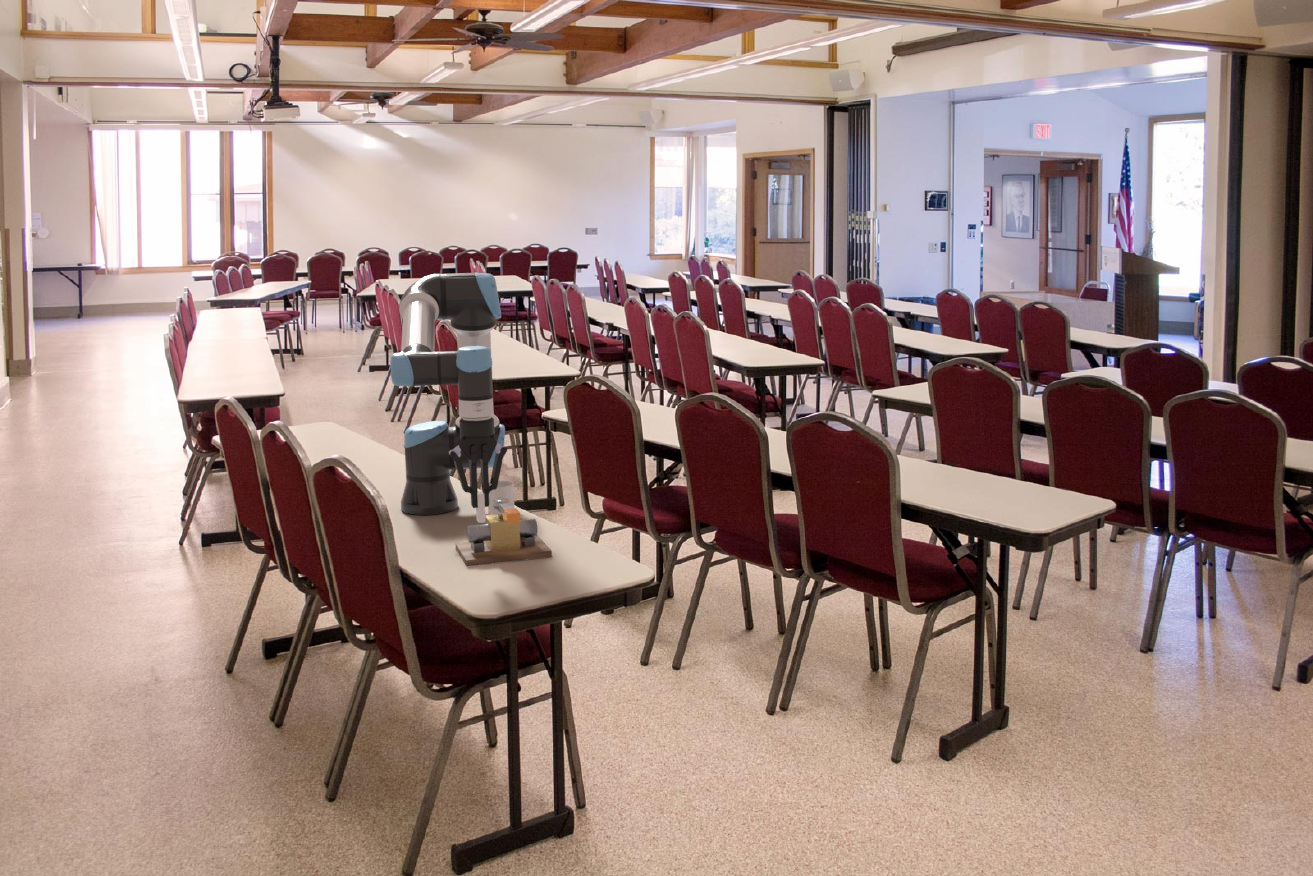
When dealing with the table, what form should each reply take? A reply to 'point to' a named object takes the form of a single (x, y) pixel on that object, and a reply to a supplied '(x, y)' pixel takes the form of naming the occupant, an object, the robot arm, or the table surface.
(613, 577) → the table surface
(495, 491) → the mug
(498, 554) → the base board
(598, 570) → the table surface
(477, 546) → the valve body
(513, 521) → the valve lever
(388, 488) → the table surface
